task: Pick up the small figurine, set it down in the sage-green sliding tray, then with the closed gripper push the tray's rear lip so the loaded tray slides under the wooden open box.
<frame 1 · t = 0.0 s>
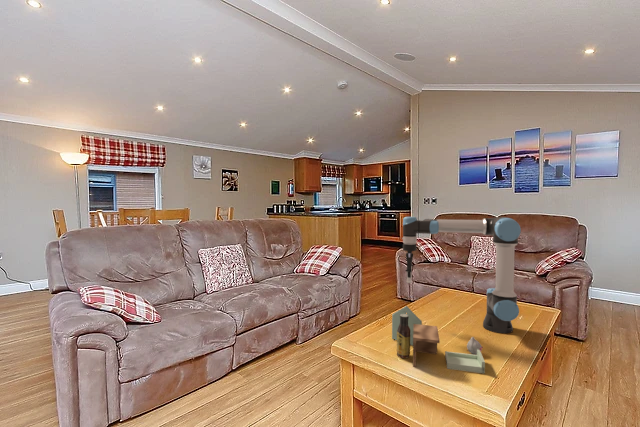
hand: (409, 280, 191), 28 cm above the table, fingers open, 13 cm apart
figurine: (474, 354, 159), on the table
tray: (463, 359, 149), point 3 cm above the table, slide at 0.0 cm
sauce bottle: (403, 356, 157), on the table
grey piece: (409, 341, 174), on the table
wooden open box: (425, 359, 153), on the table
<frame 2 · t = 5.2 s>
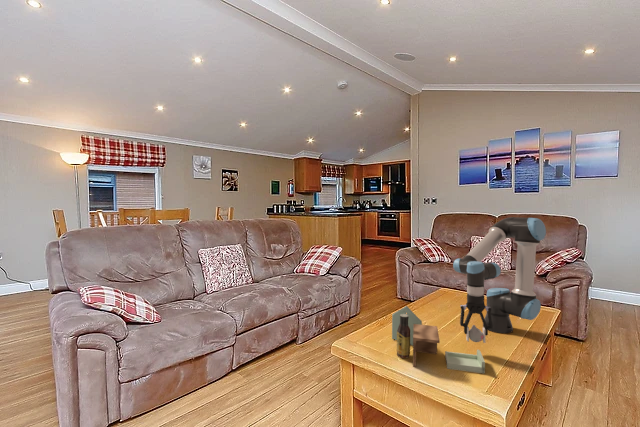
hand: (475, 340, 160), 6 cm above the table, fingers closed on figurine, 6 cm apart
figurine: (476, 342, 160), point 5 cm above the table, touching gripper
everything else where it was.
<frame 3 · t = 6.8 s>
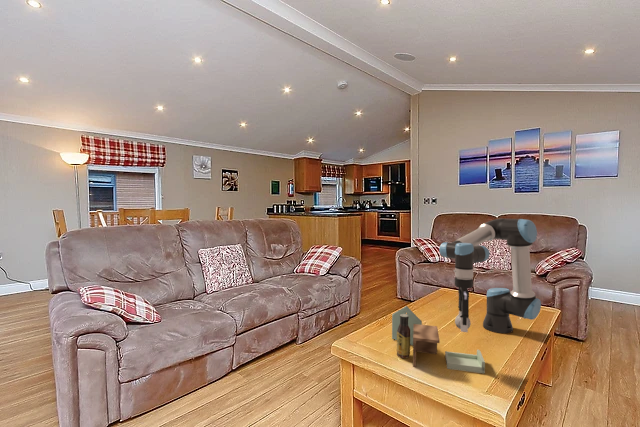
hand: (463, 328, 148), 16 cm above the table, fingers closed on figurine, 6 cm apart
figurine: (462, 329, 148), point 16 cm above the table, touching gripper
everything else where it was.
when the fingers open (3 cm above the table, at t = 8.6 s): figurine drops 2 cm, resting on tray.
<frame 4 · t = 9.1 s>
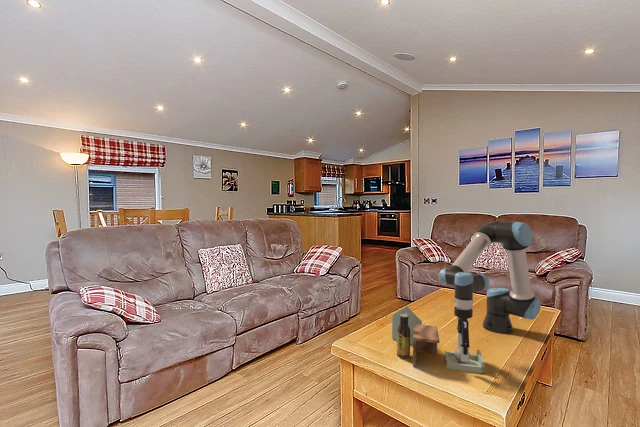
hand: (462, 354, 149), 5 cm above the table, fingers open, 13 cm apart
figurine: (462, 362, 149), point 1 cm above the table, touching tray
tray: (463, 359, 149), point 2 cm above the table, slide at 0.1 cm, touching figurine
everything else where it was.
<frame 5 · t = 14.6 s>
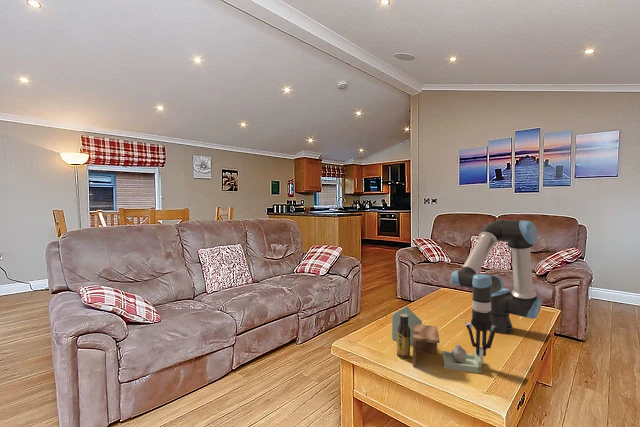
hand: (480, 362, 147), 2 cm above the table, fingers closed
figurine: (459, 361, 150), point 1 cm above the table, touching tray
tray: (460, 358, 149), point 3 cm above the table, slide at 1.3 cm, touching figurine, gripper
everything else where it was.
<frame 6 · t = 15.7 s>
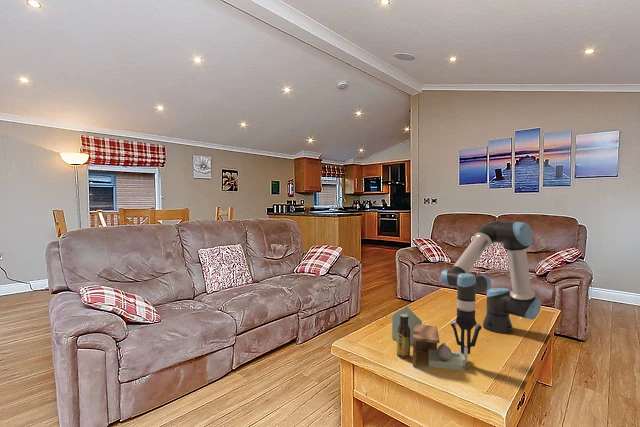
hand: (465, 360, 148), 2 cm above the table, fingers closed
figurine: (444, 360, 151), point 1 cm above the table, touching tray
tray: (445, 356, 151), point 3 cm above the table, slide at 7.7 cm, touching figurine, gripper
everything else where it was.
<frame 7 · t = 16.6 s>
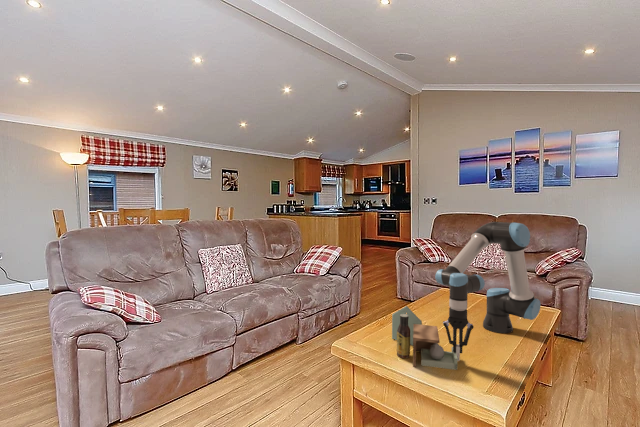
hand: (457, 359, 149), 2 cm above the table, fingers closed
figurine: (437, 359, 152), point 1 cm above the table, touching tray
tray: (438, 355, 152), point 3 cm above the table, slide at 10.9 cm, touching figurine, gripper
everything else where it was.
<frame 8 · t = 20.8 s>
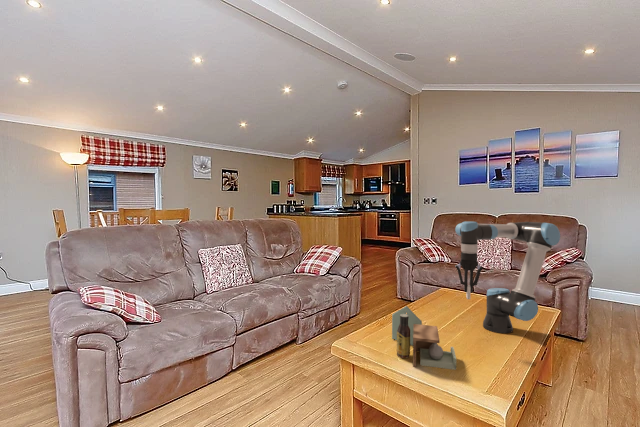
hand: (468, 298, 167), 24 cm above the table, fingers closed
tray: (437, 355, 152), point 2 cm above the table, slide at 11.3 cm, touching figurine
everything else where it was.
at the end: tray slide at 11.3 cm; figurine inside the target area on the tray (0.5 cm from its centre), point 0.8 cm above the tray's base; figurine tilted 0° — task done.
